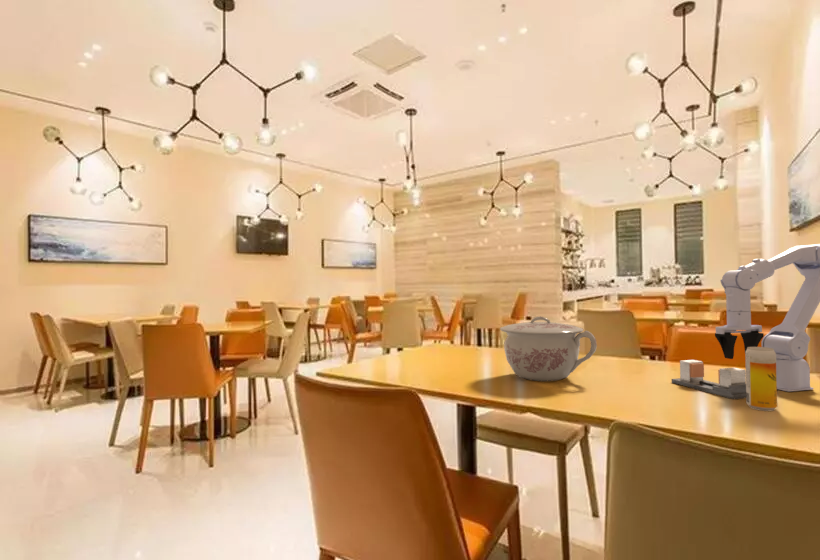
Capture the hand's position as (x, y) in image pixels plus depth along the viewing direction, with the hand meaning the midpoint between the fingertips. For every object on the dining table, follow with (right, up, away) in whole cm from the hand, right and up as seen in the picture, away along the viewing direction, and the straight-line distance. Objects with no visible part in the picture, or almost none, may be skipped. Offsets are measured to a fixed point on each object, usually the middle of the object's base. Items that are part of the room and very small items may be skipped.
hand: (739, 357), depth 131 cm
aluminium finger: (-6, -8, -5) cm, 11 cm away
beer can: (-8, -10, -18) cm, 22 cm away
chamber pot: (-51, -11, +22) cm, 57 cm away
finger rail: (-7, -10, +1) cm, 12 cm away
